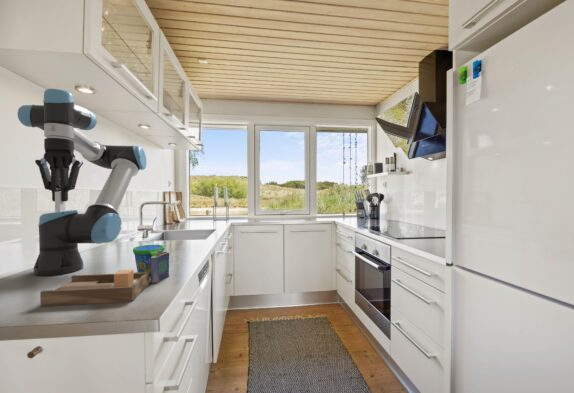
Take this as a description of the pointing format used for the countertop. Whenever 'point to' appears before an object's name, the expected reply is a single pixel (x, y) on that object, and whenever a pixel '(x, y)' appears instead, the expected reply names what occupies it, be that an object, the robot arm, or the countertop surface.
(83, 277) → the wooden tray
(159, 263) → the purple carton
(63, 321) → the countertop surface
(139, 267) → the snack cup
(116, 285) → the block
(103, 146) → the robot arm
